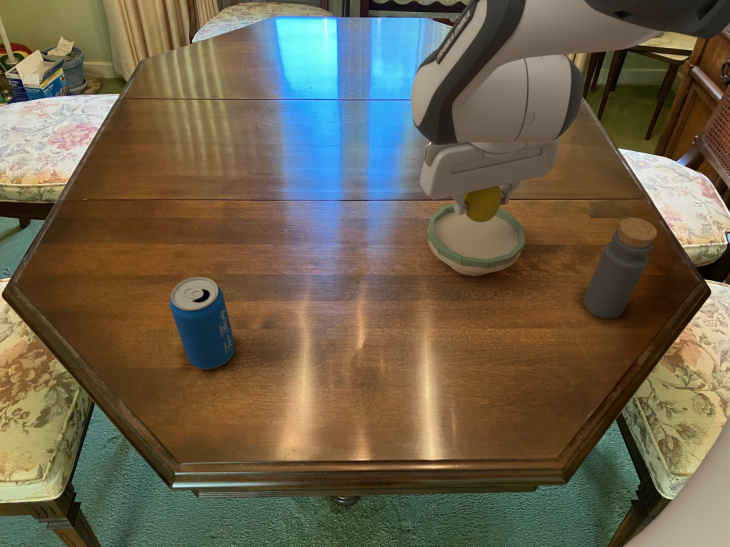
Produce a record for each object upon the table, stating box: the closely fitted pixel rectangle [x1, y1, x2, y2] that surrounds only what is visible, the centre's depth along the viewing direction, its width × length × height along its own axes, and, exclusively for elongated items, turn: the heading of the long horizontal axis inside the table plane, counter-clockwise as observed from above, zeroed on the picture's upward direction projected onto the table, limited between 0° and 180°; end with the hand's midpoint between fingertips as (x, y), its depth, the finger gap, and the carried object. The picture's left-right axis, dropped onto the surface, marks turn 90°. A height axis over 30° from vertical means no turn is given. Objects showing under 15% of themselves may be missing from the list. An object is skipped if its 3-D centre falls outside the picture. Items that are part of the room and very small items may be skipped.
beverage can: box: [169, 276, 236, 370], centre depth 72 cm, size 6×6×12 cm
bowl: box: [426, 202, 526, 277], centre depth 88 cm, size 15×15×6 cm
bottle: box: [583, 217, 658, 320], centre depth 78 cm, size 6×6×15 cm
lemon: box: [464, 186, 501, 222], centre depth 82 cm, size 6×6×8 cm
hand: (480, 207), depth 83 cm, fingers closed on lemon, 5 cm apart
